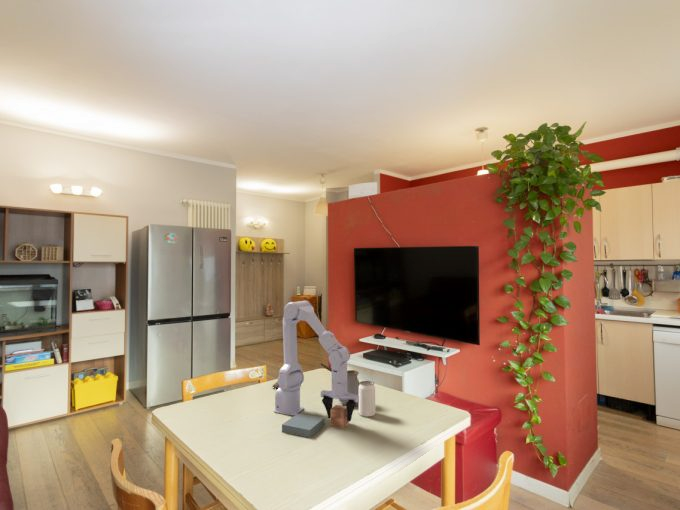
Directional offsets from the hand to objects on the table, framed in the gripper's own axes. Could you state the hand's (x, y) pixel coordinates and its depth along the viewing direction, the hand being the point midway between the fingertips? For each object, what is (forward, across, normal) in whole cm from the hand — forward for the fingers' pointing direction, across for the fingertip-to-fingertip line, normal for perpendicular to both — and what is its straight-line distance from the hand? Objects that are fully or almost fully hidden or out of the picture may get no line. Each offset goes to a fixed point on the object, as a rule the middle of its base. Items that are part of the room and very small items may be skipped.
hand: (339, 419), depth 133 cm
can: (+2, +6, +13) cm, 14 cm away
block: (+2, 0, 0) cm, 2 cm away
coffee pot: (+2, -9, +22) cm, 24 cm away
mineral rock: (+2, -44, +29) cm, 53 cm away
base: (+2, -10, -8) cm, 13 cm away
